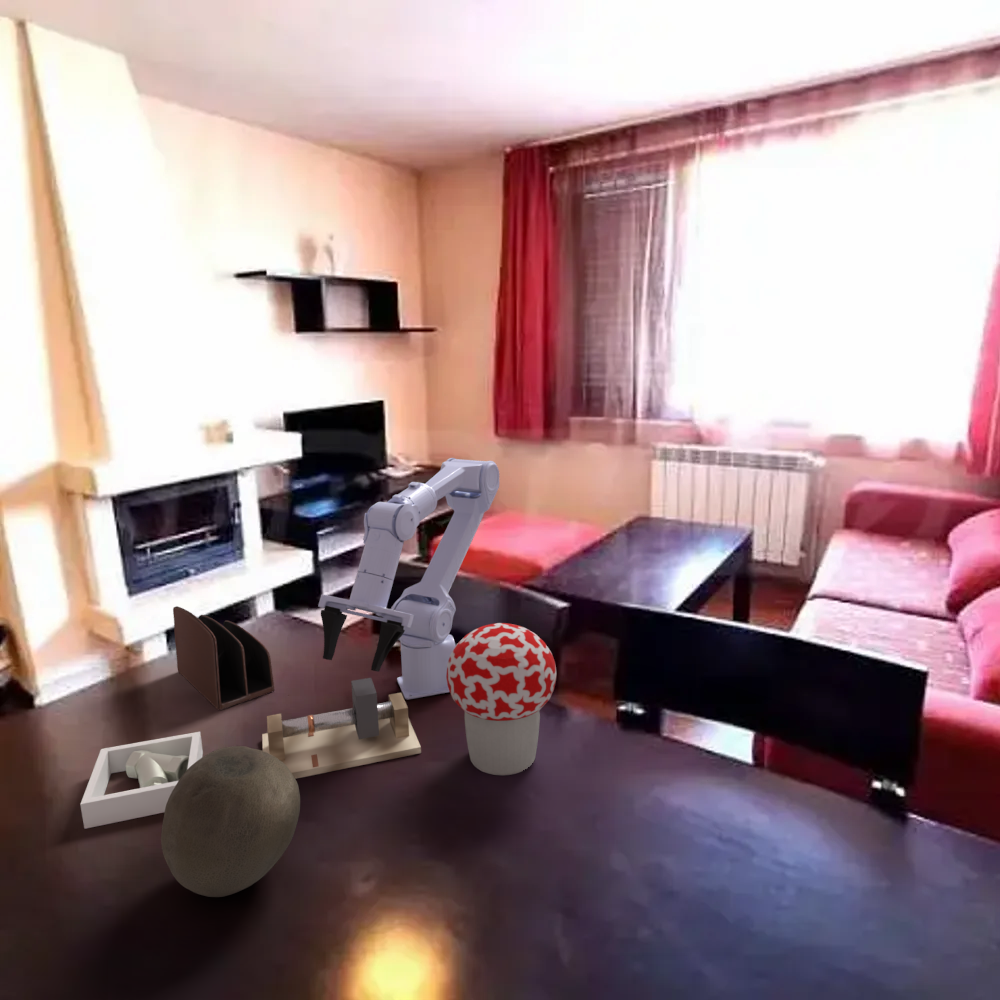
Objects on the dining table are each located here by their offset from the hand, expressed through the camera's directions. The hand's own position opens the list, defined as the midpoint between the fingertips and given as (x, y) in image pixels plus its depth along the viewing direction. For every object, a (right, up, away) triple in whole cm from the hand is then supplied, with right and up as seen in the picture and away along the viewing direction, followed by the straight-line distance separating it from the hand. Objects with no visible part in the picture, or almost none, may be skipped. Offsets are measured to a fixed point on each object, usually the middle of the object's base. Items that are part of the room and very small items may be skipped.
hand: (351, 665), depth 104 cm
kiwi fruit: (-7, -18, -25) cm, 32 cm away
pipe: (-2, -9, 0) cm, 9 cm away
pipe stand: (-2, -12, 0) cm, 12 cm away
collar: (+2, -10, +1) cm, 10 cm away
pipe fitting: (-26, -15, -8) cm, 31 cm away
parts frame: (-26, -15, -9) cm, 31 cm away
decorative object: (+23, -13, -3) cm, 26 cm away
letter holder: (-27, -8, +22) cm, 36 cm away
